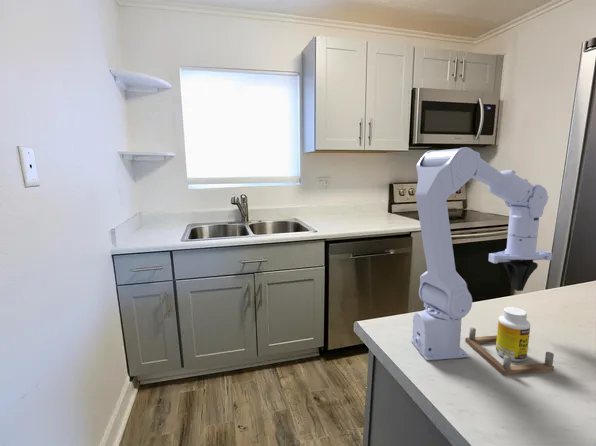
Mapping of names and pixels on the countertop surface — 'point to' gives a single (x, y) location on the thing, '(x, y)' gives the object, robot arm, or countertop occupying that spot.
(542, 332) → the countertop surface
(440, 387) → the countertop surface
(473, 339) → the peg frame
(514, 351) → the supplement bottle
